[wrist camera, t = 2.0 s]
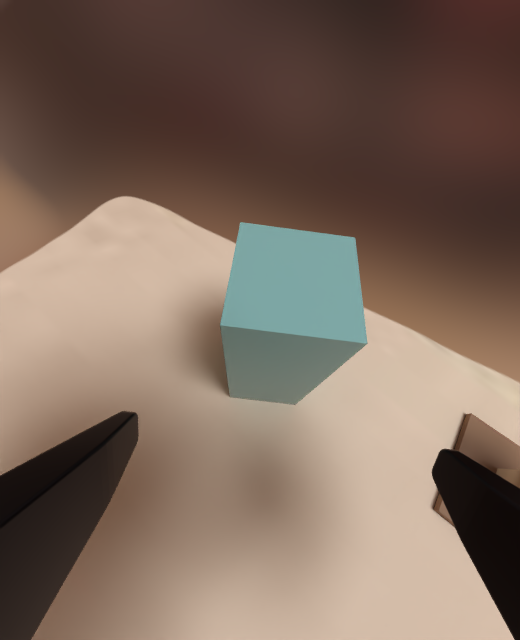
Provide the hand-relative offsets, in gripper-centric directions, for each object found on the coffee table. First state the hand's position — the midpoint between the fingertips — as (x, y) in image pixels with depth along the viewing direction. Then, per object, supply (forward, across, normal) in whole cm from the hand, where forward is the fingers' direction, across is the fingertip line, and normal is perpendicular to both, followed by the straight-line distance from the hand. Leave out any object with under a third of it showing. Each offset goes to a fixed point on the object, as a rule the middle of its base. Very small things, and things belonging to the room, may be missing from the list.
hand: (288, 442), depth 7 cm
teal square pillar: (+13, 0, +4) cm, 14 cm away
